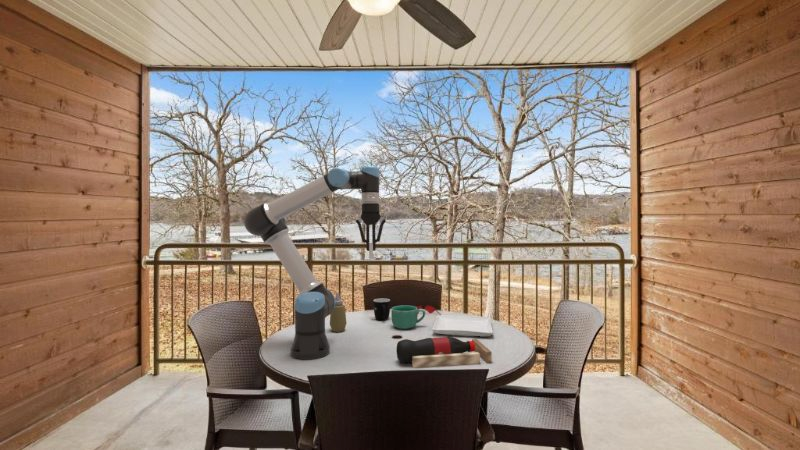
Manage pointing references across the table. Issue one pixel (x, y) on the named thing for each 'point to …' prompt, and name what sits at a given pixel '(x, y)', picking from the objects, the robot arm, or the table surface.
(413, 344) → the cola bottle
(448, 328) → the square plate
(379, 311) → the mug
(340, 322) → the squeeze bottle
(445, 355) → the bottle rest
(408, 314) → the mug
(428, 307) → the glasses
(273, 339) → the table surface
